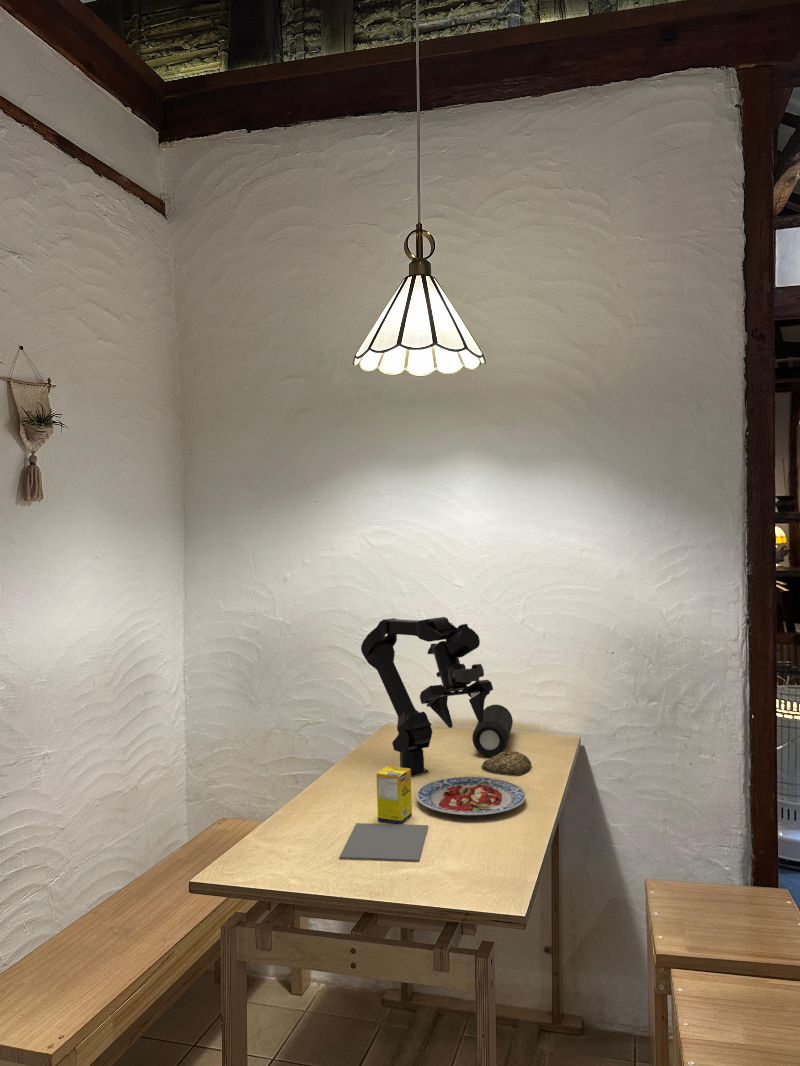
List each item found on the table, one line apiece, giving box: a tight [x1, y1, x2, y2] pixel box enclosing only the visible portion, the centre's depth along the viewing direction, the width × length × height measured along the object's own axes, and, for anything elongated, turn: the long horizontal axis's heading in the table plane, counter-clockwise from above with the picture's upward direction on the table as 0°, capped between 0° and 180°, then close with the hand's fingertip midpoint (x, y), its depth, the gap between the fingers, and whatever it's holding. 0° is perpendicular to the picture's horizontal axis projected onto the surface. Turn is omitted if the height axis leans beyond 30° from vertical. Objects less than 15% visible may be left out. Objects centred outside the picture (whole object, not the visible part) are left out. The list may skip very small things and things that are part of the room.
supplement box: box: [376, 765, 413, 824], centre depth 186 cm, size 6×6×11 cm
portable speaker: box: [471, 704, 514, 757], centre depth 241 cm, size 26×10×10 cm, turn 168°
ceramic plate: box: [415, 776, 527, 816], centre depth 195 cm, size 26×26×3 cm
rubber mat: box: [338, 822, 429, 862], centre depth 172 cm, size 18×16×1 cm
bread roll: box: [481, 749, 532, 776], centre depth 220 cm, size 13×12×5 cm
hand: (466, 725), depth 200 cm, fingers open, 9 cm apart
